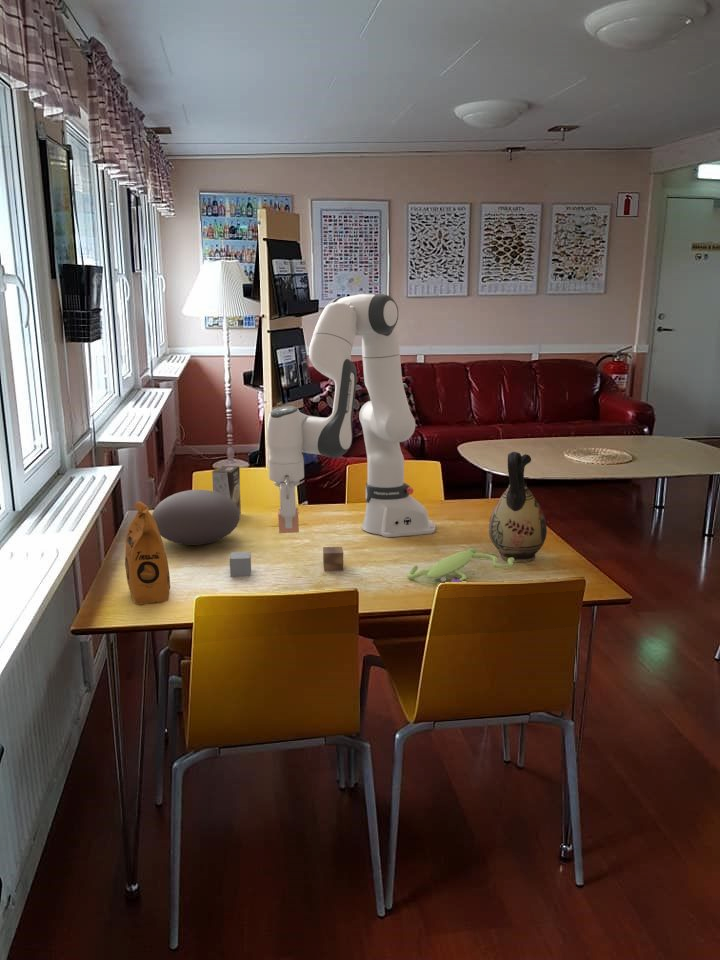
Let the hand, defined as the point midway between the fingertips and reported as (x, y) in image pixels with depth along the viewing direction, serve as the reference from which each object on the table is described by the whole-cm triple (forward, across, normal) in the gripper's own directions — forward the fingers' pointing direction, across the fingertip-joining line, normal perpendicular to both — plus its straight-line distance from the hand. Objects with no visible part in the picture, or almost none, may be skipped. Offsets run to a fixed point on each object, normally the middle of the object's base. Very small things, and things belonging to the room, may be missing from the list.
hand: (288, 523), depth 195 cm
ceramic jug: (+14, +3, -61) cm, 63 cm away
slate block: (+12, -1, +13) cm, 18 cm away
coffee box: (+13, +50, +19) cm, 55 cm away
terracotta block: (+2, 0, 0) cm, 2 cm away
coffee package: (+12, -14, +34) cm, 39 cm away
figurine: (+14, -8, -44) cm, 47 cm away
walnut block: (+13, +1, -11) cm, 17 cm away
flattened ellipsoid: (+12, +26, +27) cm, 39 cm away
